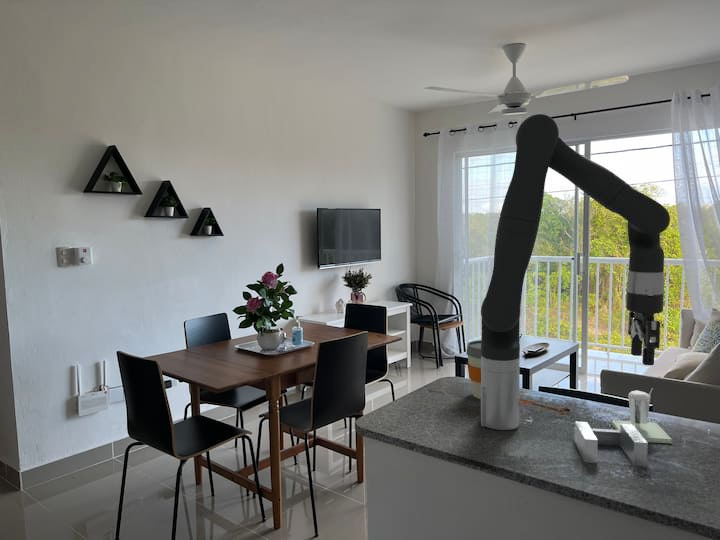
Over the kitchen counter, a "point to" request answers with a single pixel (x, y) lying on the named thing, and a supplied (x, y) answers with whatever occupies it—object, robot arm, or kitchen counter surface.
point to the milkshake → (639, 409)
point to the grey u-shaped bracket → (610, 442)
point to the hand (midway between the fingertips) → (641, 359)
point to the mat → (648, 432)
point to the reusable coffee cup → (474, 366)
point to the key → (544, 406)
